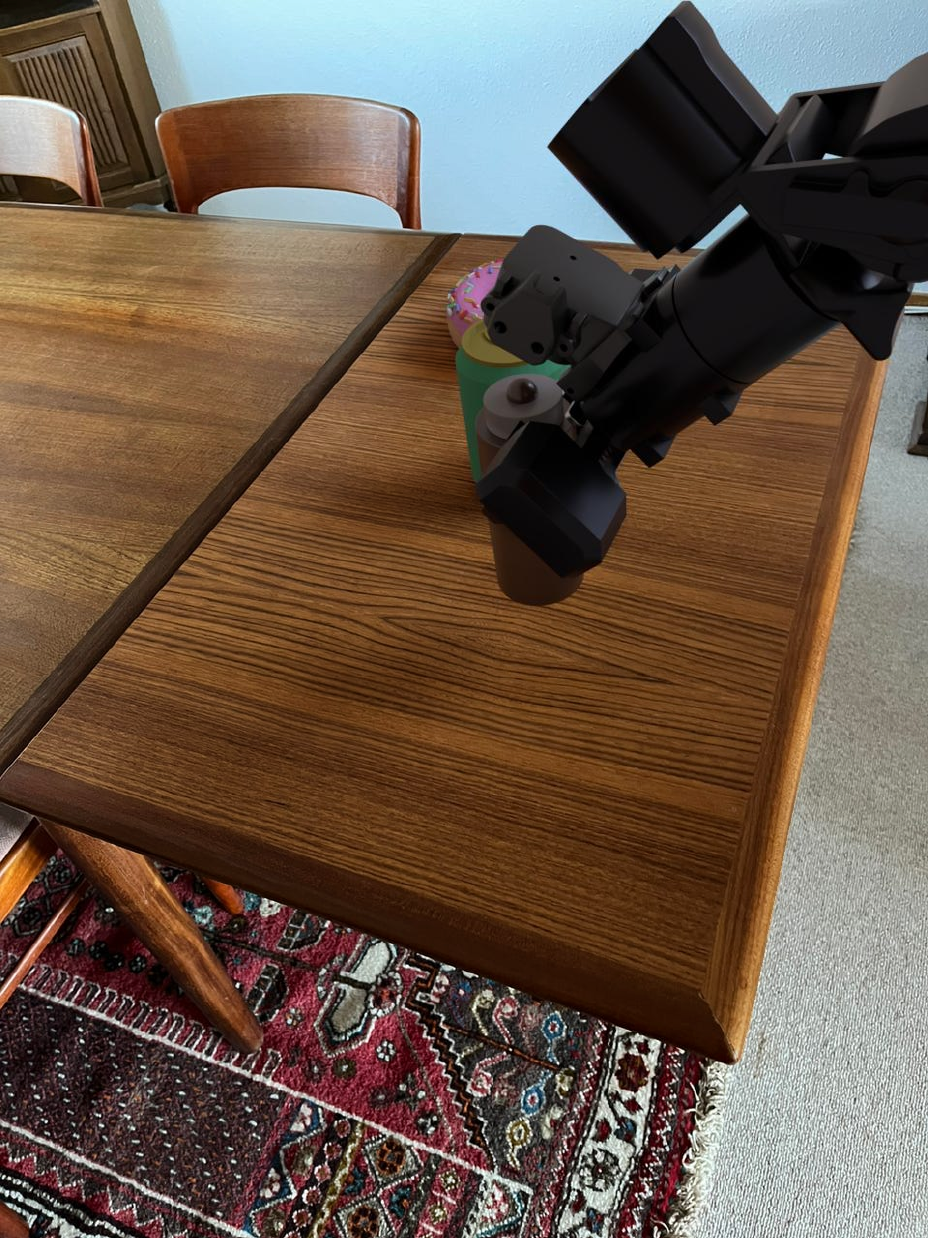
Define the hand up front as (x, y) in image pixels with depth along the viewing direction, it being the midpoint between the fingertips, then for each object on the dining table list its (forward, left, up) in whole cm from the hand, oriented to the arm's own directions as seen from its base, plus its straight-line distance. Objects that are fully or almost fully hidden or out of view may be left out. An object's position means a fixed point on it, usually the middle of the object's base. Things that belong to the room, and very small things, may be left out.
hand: (509, 484), depth 52 cm
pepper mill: (-1, 0, -7) cm, 7 cm away
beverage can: (+1, -17, -13) cm, 21 cm away
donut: (+2, -38, -13) cm, 40 cm away
